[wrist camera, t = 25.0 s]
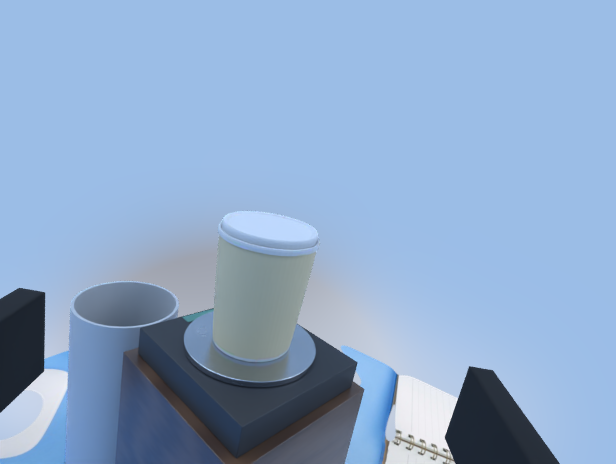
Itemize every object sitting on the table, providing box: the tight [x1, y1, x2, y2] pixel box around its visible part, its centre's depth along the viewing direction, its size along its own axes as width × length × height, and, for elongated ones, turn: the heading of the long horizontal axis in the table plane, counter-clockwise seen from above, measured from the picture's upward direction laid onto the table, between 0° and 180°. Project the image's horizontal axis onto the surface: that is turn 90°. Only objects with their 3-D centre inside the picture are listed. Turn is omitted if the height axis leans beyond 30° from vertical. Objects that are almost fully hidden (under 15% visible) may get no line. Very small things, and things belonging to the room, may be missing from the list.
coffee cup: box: [213, 211, 320, 362], centre depth 39 cm, size 9×9×12 cm
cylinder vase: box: [65, 281, 179, 464], centre depth 55 cm, size 12×12×25 cm
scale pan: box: [183, 311, 316, 388], centre depth 40 cm, size 13×13×1 cm
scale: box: [138, 308, 357, 458], centre depth 41 cm, size 16×15×3 cm
